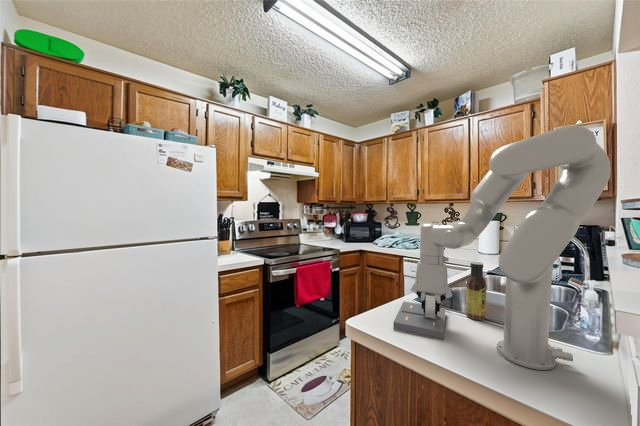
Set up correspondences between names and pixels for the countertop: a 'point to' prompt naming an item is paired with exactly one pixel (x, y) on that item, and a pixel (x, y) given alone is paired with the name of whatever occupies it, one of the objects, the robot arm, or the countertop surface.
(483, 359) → the countertop surface
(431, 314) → the slide lever
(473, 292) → the sauce bottle
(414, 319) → the panel
